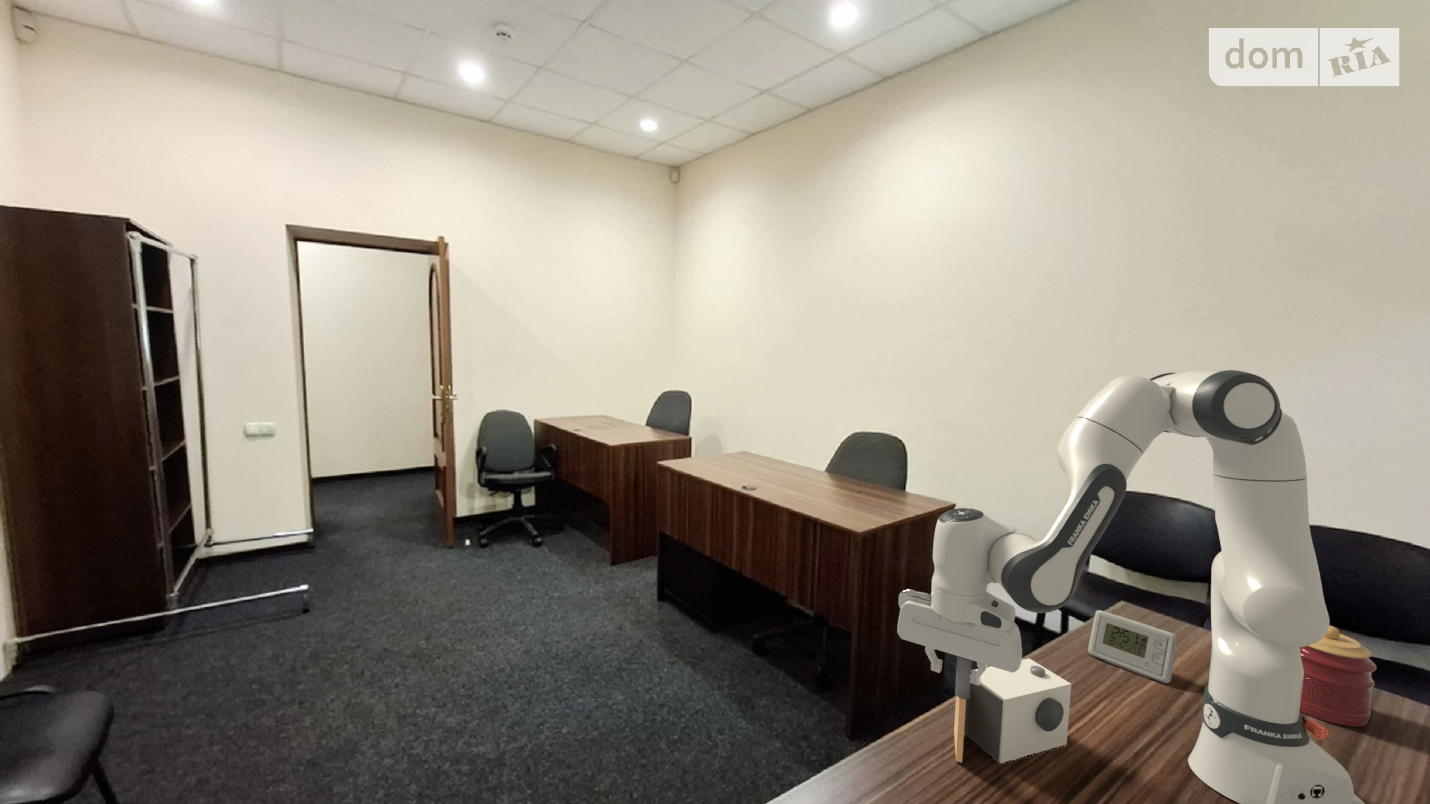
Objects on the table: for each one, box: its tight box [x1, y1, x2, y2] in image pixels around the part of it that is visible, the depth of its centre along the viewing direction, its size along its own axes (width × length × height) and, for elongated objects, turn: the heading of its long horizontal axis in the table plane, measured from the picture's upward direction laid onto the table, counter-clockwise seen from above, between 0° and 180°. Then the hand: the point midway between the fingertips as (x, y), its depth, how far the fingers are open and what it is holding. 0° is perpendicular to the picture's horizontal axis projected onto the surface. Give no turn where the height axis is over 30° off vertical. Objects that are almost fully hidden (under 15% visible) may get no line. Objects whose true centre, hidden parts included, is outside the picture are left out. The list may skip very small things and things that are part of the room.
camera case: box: [964, 658, 1072, 764], centre depth 104 cm, size 16×10×13 cm, turn 109°
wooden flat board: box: [953, 656, 973, 764], centre depth 102 cm, size 2×9×19 cm, turn 159°
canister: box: [1300, 625, 1377, 728], centre depth 116 cm, size 13×13×18 cm
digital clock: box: [1087, 609, 1179, 684], centre depth 130 cm, size 16×9×11 cm, turn 27°
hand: (955, 676), depth 99 cm, fingers open, 5 cm apart
